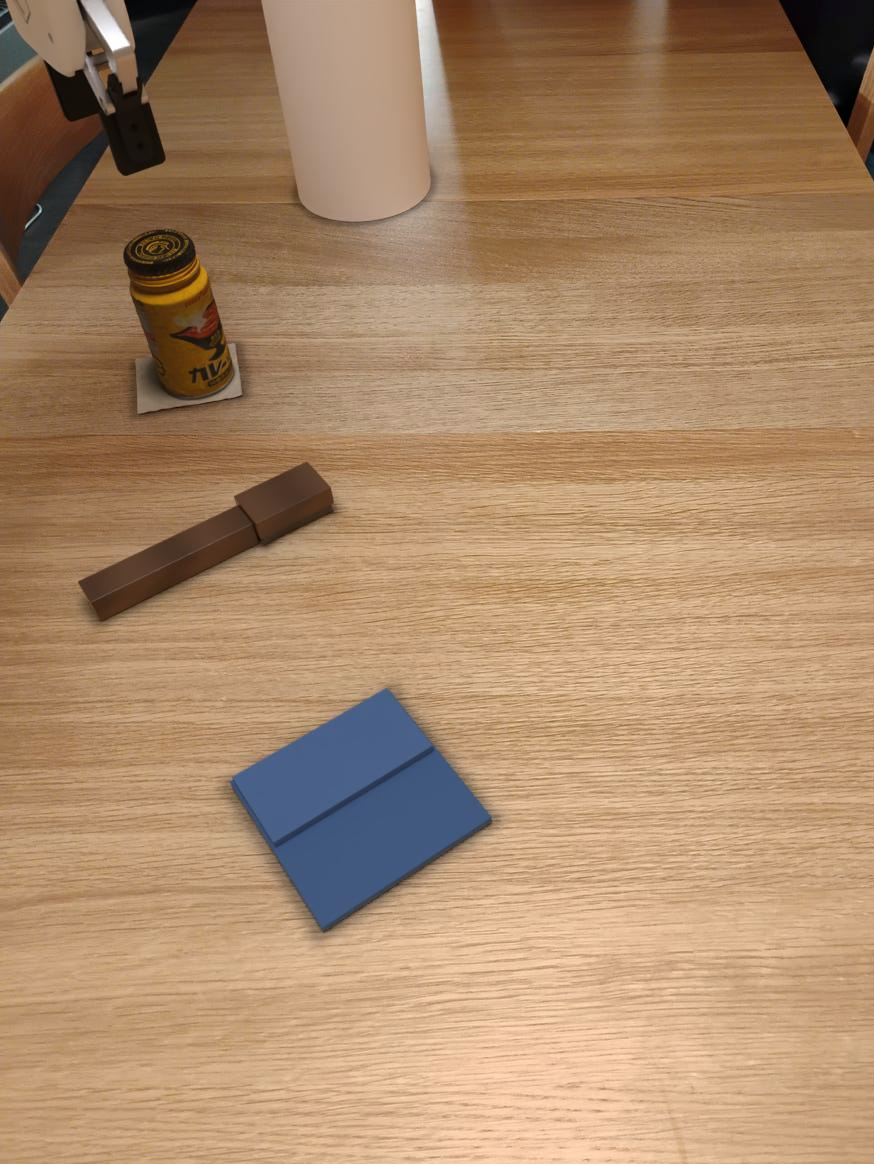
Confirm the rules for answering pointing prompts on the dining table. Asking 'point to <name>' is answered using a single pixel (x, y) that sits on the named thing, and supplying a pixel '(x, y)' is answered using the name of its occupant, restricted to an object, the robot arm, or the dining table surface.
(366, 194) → the canister
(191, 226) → the dining table surface
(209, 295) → the condiment
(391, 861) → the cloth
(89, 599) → the brown bar
